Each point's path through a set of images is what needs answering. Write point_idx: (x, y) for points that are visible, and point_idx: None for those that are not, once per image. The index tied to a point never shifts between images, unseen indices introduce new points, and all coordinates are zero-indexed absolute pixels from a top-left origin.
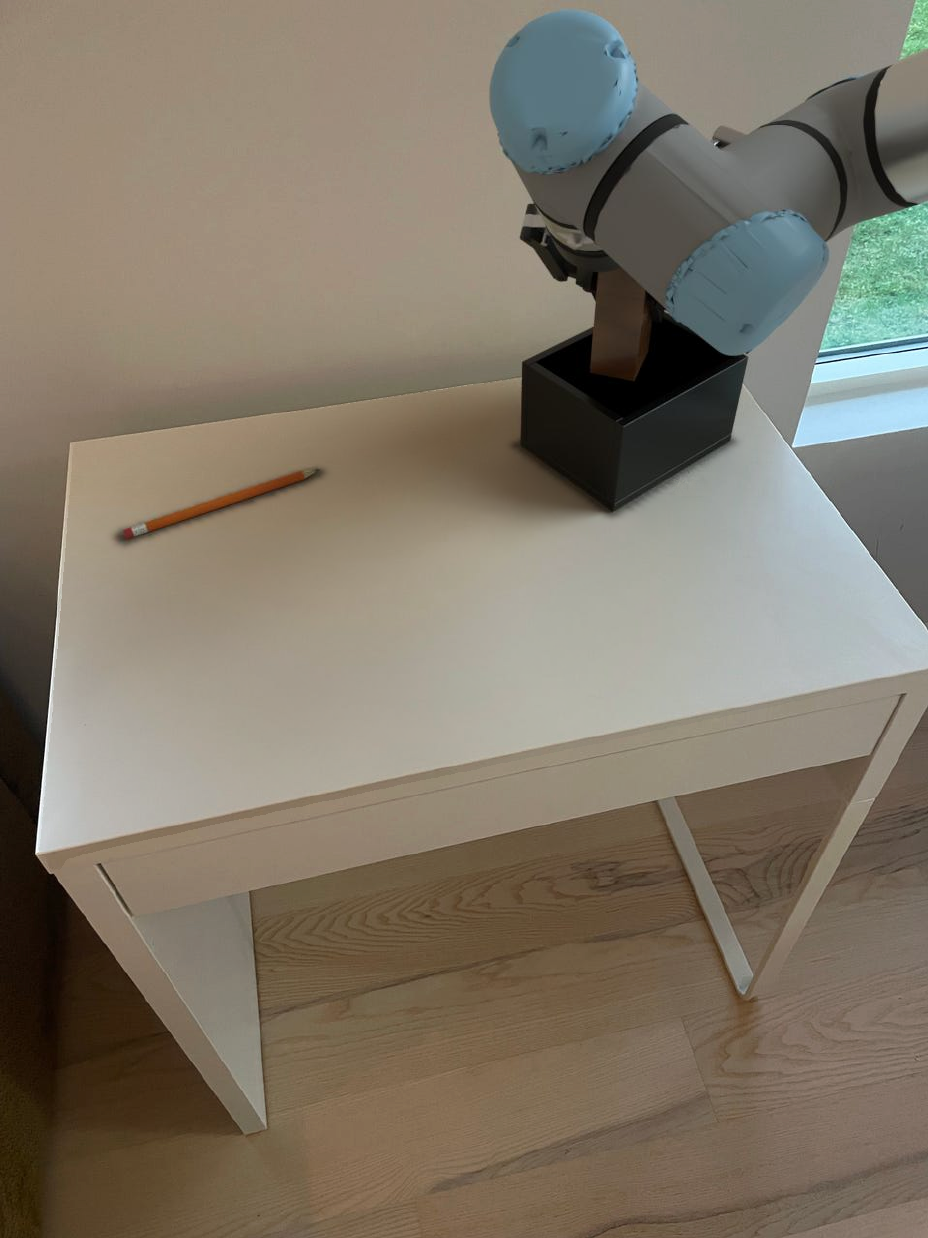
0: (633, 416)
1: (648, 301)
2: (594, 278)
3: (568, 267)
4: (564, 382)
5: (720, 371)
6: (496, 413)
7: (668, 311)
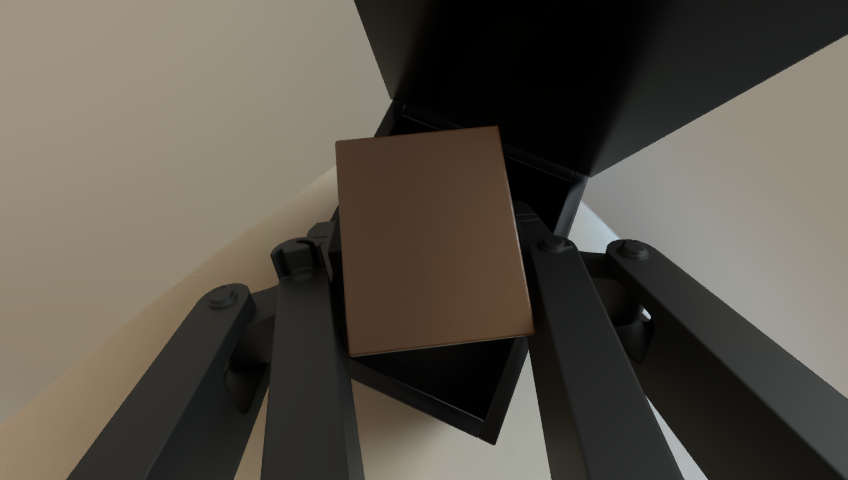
0: (498, 409)
1: None
2: (344, 301)
3: (261, 355)
4: (357, 366)
5: (569, 230)
6: (267, 287)
7: (441, 118)
